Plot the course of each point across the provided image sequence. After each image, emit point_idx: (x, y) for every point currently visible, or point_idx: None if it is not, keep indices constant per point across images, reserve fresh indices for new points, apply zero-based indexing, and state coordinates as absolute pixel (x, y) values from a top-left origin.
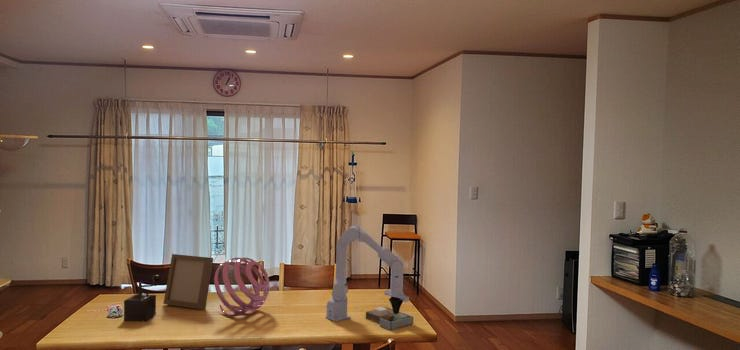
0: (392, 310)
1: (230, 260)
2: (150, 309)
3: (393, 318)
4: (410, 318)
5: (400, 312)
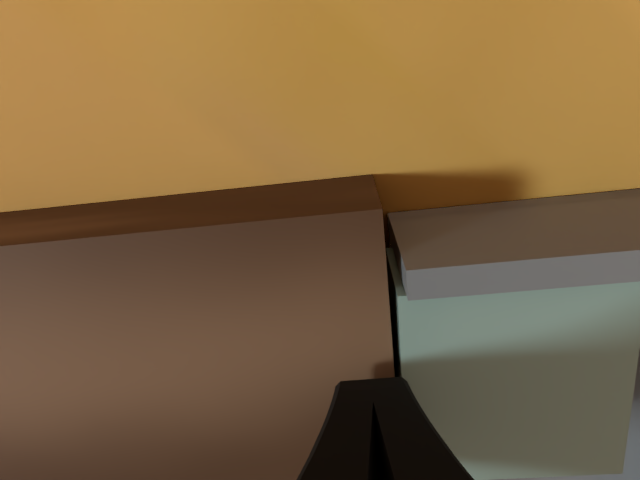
0: (82, 299)
1: None
2: None
3: None
4: None
5: (298, 231)
